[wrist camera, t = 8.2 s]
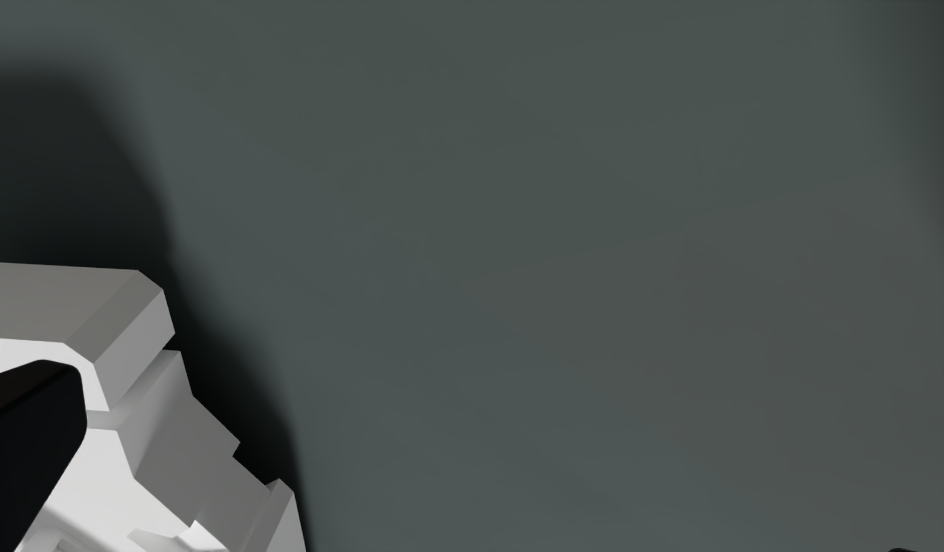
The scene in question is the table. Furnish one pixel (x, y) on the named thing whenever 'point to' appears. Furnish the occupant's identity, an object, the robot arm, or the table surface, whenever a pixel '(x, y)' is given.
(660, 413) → the table surface
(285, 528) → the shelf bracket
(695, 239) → the table surface
